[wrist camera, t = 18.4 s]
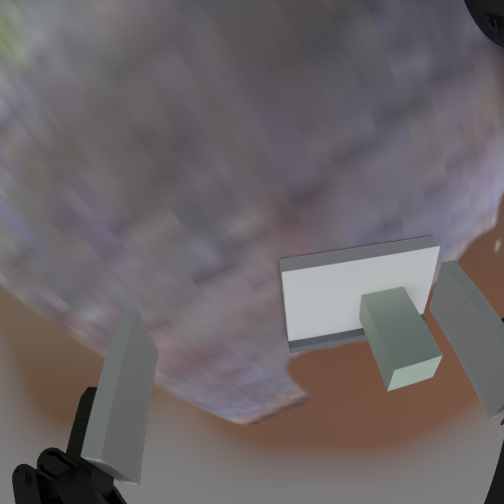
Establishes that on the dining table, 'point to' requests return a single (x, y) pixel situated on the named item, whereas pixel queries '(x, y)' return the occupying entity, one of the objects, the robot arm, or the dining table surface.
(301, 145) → the dining table surface
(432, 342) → the carton
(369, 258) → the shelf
